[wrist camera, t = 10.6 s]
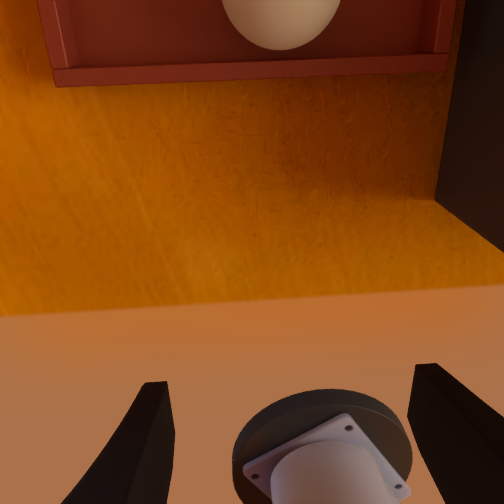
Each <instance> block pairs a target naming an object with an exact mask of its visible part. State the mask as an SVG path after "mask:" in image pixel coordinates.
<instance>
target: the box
mask: <svg viewBox="0 0 504 504" xmlns="http://www.w3.org/2000/svg"><path fill="white" fill-rule="evenodd" d="M435 201H436V202H437V203H439V204H440V205H441V206H443V207H444V208H445V209H447V210H448V211H449V212H451V213H452V214H453V215H455V216H456V217H457V218H458V219H460V220H461V221H462V222H464V223H465V224H466V225H468V226H469V227H470V228H472V229H473V230H474V231H476V232H477V233H478V234H480V235H481V236H482V237H484V238H485V239H486V240H488V241H489V242H490V243H491V244H493V245H494V246H495V247H497V248H498V249H499V250H501V251H502V252H503V253H504V0H467V2H466V8H465V14H464V20H463V27H462V33H461V39H460V46H459V52H458V58H457V65H456V71H455V77H454V84H453V90H452V96H451V103H450V109H449V115H448V122H447V128H446V134H445V140H444V147H443V153H442V159H441V166H440V172H439V178H438V185H437V191H436V197H435Z"/></svg>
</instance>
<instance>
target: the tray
mask: <svg viewBox="0 0 504 504" xmlns="http://www.w3.org/2000/svg"><path fill="white" fill-rule="evenodd" d="M37 5H38V9H39V14H40V19H41V23H42V28H43V32H44V37H45V41H46V46H47V51H48V55H49V60H50V64H51V68H52V69H53V70H52V73H53V78H54V82H55V86H56V87H79V86H103V85H127V84H151V83H175V82H199V81H223V80H247V79H271V78H295V77H319V76H343V75H367V74H391V73H415V72H439V71H447V67H448V60H449V54H448V53H449V51H450V45H451V39H452V32H453V25H454V19H455V12H456V5H457V0H340V3H339V6H338V8H337V10H336V12H335V14H334V16H333V18H332V20H331V21H330V22H329V24H328V25H327V26H326V27H325V29H324V30H323V31H322V32H321V33H320V34H319V35H318V36H316V37H315V38H314V39H313V40H311V41H309V42H308V43H306V44H304V45H301V46H299V47H296V48H293V49H287V50H272V49H267V48H263V47H260V46H258V45H256V44H254V43H252V42H251V41H249V40H247V39H246V38H245V37H244V36H243V35H242V34H241V33H239V31H238V30H237V29H236V28H235V27H234V25H233V24H232V22H231V21H230V19H229V17H228V15H227V13H226V11H225V8H224V6H223V3H222V0H37Z"/></svg>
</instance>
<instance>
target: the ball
mask: <svg viewBox="0 0 504 504" xmlns="http://www.w3.org/2000/svg"><path fill="white" fill-rule="evenodd" d="M222 3H223V6H224V8H225V11H226V13H227V15H228V17H229V19H230V21H231V22H232V24H233V25H234V27H235V28H236V29H237V30H238V31H239V33H241V34H242V35H243V36H244V37H245V38H246V39H247V40H249V41H251V42H252V43H254V44H256V45H258V46H260V47H263V48H267V49H272V50H287V49H293V48H296V47H299V46H301V45H304V44H306V43H308V42H309V41H311V40H313V39H314V38H315V37H316V36H318V35H319V34H320V33H321V32H322V31H323V30H324V29H325V27H326V26H327V25H328V24H329V22H330V21H331V20H332V18H333V16H334V14H335V12H336V10H337V8H338V6H339V3H340V0H222Z"/></svg>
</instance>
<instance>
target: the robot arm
mask: <svg viewBox="0 0 504 504" xmlns="http://www.w3.org/2000/svg"><path fill="white" fill-rule="evenodd" d="M407 418H408V421H409V423H410V426H411V429H412V432H413V435H414V438H415V441H416V443H417V446H418V449H419V451H420V453H421V455H422V457H423V459H424V461H425V464H426V466H427V468H428V470H429V472H430V474H431V476H432V478H433V480H434V482H435V484H436V486H437V488H438V490H439V492H440V494H441V496H442V497H443V500H444V502H445V504H504V417H503V416H501V415H500V414H499V413H497V412H496V411H495V410H494V409H492V408H491V407H490V406H489V405H487V404H486V403H485V402H483V401H482V400H481V399H480V398H479V397H477V396H476V395H475V394H474V393H472V392H471V391H470V390H469V389H467V388H466V387H465V386H464V385H463V384H461V383H460V382H459V381H458V380H457V379H455V378H454V377H453V376H452V375H450V374H449V373H448V372H447V371H445V370H444V369H443V368H442V367H441V366H439V365H438V364H437V363H431V364H416V365H415V372H414V377H413V383H412V389H411V396H410V402H409V408H408V414H407ZM348 425H349V426H348ZM174 443H175V429H174V422H173V416H172V410H171V403H170V397H169V390H168V384H167V381H163V382H147V383H145V384H144V385H143V386H142V387H141V389H140V391H139V393H138V395H137V396H136V398H135V400H134V402H133V403H132V405H131V407H130V409H129V410H128V412H127V413H126V415H125V417H124V418H123V420H122V422H121V423H120V425H119V426H118V428H117V429H116V431H115V432H114V434H113V435H112V437H111V438H110V440H109V442H108V443H107V445H106V446H105V447H104V449H103V450H102V451H101V453H100V454H99V456H98V457H97V458H96V460H95V461H94V462H93V464H92V465H91V467H90V468H89V469H88V471H87V472H86V473H85V475H84V476H83V477H82V478H81V480H80V481H79V482H78V484H77V485H76V486H75V487H74V488H73V490H72V491H71V492H70V493H69V495H68V496H67V497H66V498H65V499H64V500H63V502H62V503H61V504H167V497H168V492H169V486H170V481H171V475H172V469H173V456H174ZM243 474H244V475H245V476H246V477H247V478H248V479H249V480H250V481H251V482H252V483H253V484H254V485H255V486H257V487H258V488H259V489H260V490H261V491H262V492H263V493H264V494H265V495H266V496H267V497H269V498H270V499H271V500H272V504H401V503H400V501H401V500H403V499H405V498H407V497H409V496H410V495H411V490H410V488H409V486H408V485H407V484H406V482H405V481H404V480H403V479H402V477H401V476H400V475H399V474H398V473H397V471H396V470H395V469H394V468H393V467H392V465H391V464H390V463H389V462H388V461H387V459H386V458H385V457H384V456H383V455H382V453H381V452H380V451H379V450H378V449H377V447H376V446H375V445H374V444H373V443H372V441H371V440H370V439H369V438H368V436H367V435H366V434H365V433H364V432H363V430H362V429H361V428H360V427H359V426H358V424H357V423H356V422H355V421H354V420H353V418H352V417H351V416H350V415H349V414H346V413H342V414H339V415H337V416H335V417H334V418H332V419H330V420H328V421H326V422H324V423H322V424H320V425H318V426H317V427H315V428H313V429H311V430H309V431H307V432H305V433H303V434H301V435H300V436H298V437H296V438H294V439H292V440H290V441H288V442H286V443H284V444H282V445H281V446H279V447H277V448H275V449H273V450H271V451H269V452H267V453H265V454H264V455H262V456H260V457H258V458H256V459H254V460H252V461H250V462H248V463H247V464H245V465H244V466H243Z"/></svg>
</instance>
